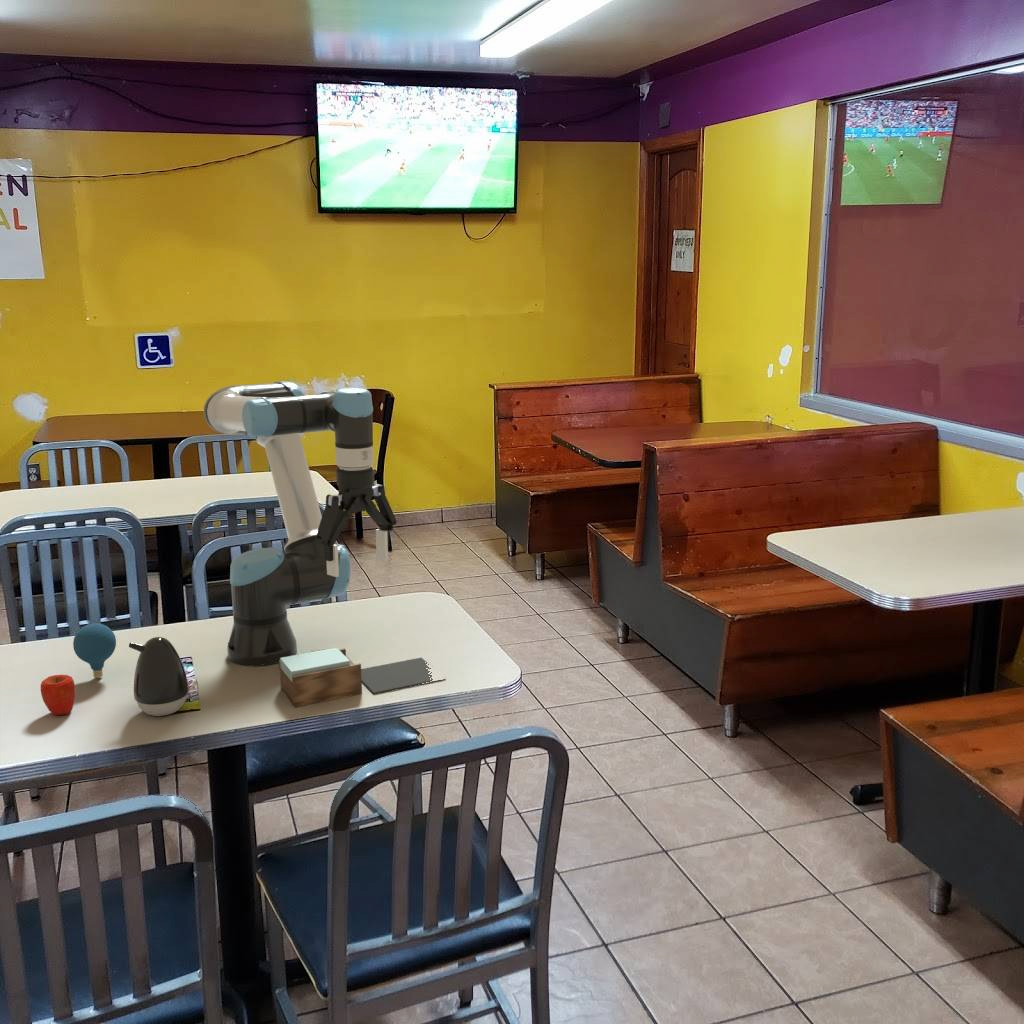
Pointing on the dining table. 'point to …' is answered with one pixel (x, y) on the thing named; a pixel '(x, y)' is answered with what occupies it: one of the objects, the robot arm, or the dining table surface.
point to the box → (322, 684)
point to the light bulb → (94, 646)
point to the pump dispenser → (159, 678)
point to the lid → (313, 662)
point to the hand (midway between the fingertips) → (358, 567)
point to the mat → (395, 675)
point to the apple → (58, 694)
